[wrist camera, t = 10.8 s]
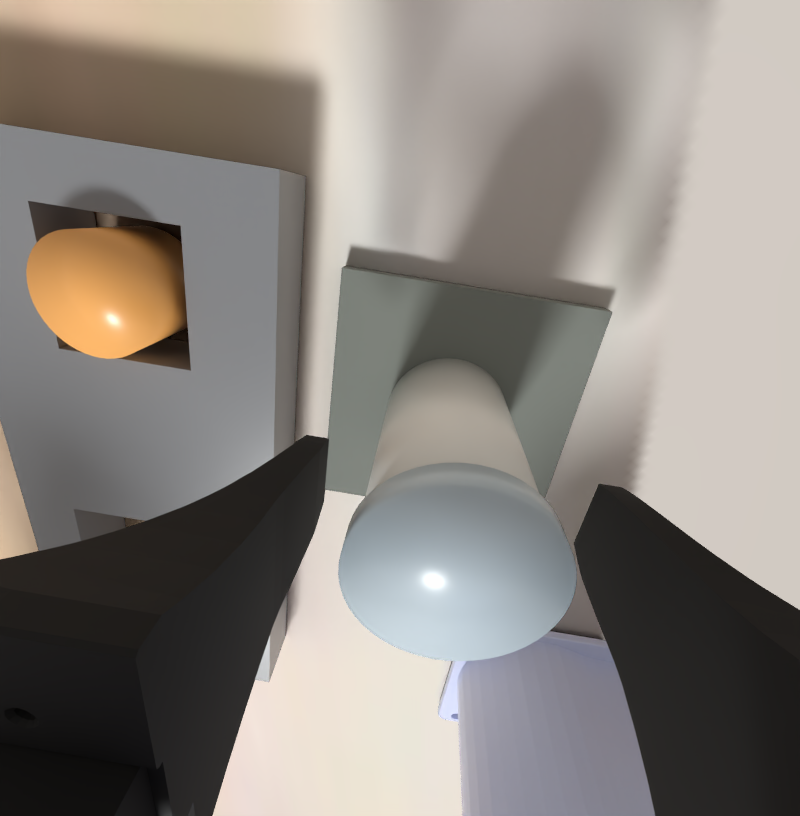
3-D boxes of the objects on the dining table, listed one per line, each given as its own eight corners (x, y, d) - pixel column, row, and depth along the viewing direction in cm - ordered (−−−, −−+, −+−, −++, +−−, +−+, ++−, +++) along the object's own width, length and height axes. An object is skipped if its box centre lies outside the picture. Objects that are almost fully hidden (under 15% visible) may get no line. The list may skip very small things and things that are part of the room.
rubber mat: (605, 308, 14) (612, 312, 14) (532, 515, 18) (535, 524, 18) (345, 265, 14) (341, 267, 14) (326, 480, 18) (323, 489, 18)
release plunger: (202, 234, 14) (146, 240, 11) (207, 340, 15) (159, 367, 13) (94, 217, 14) (12, 219, 11) (110, 324, 15) (41, 347, 13)
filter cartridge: (527, 365, 15) (614, 512, 8) (492, 477, 17) (535, 677, 10) (392, 341, 15) (351, 465, 8) (374, 456, 17) (328, 639, 10)
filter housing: (306, 176, 13) (279, 169, 11) (285, 635, 23) (269, 682, 21) (-4, 126, 13) (-92, 108, 11) (103, 604, 23) (67, 647, 21)
